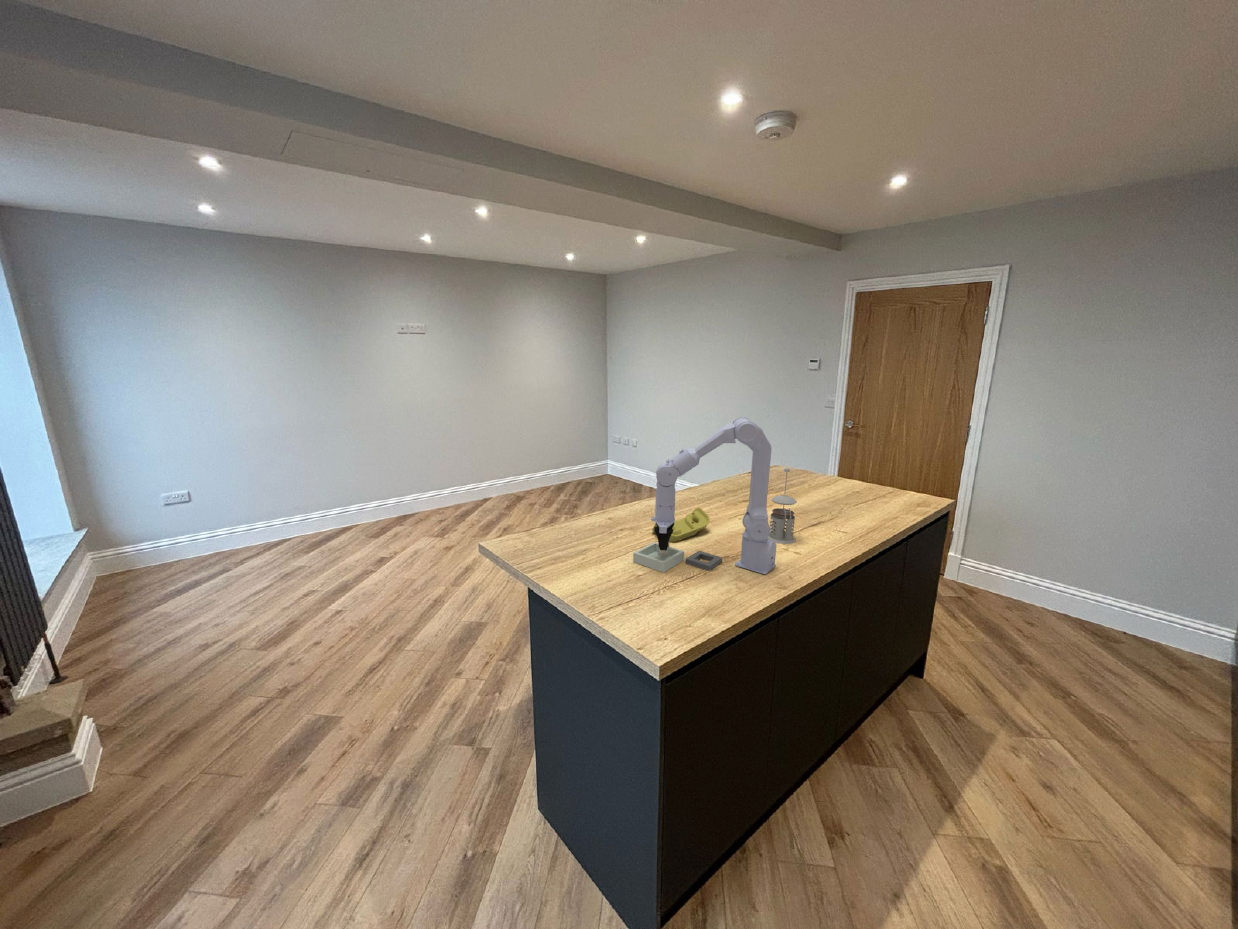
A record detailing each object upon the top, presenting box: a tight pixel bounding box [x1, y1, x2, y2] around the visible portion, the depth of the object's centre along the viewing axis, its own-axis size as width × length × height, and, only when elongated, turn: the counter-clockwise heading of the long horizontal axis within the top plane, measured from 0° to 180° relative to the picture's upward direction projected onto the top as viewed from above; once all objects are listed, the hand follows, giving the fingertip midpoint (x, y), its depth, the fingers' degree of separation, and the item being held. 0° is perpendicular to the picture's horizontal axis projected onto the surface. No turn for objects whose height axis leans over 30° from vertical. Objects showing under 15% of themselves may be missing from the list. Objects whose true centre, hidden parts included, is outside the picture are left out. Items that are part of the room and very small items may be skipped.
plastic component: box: [651, 507, 711, 543], centre depth 162 cm, size 20×7×10 cm
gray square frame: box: [685, 550, 723, 572], centre depth 138 cm, size 8×8×2 cm
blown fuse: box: [658, 542, 670, 557], centre depth 138 cm, size 3×3×6 cm
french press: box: [768, 467, 798, 545], centre depth 155 cm, size 10×12×25 cm
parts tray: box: [632, 541, 685, 573], centre depth 139 cm, size 11×11×3 cm
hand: (663, 547), depth 138 cm, fingers closed on blown fuse, 3 cm apart
